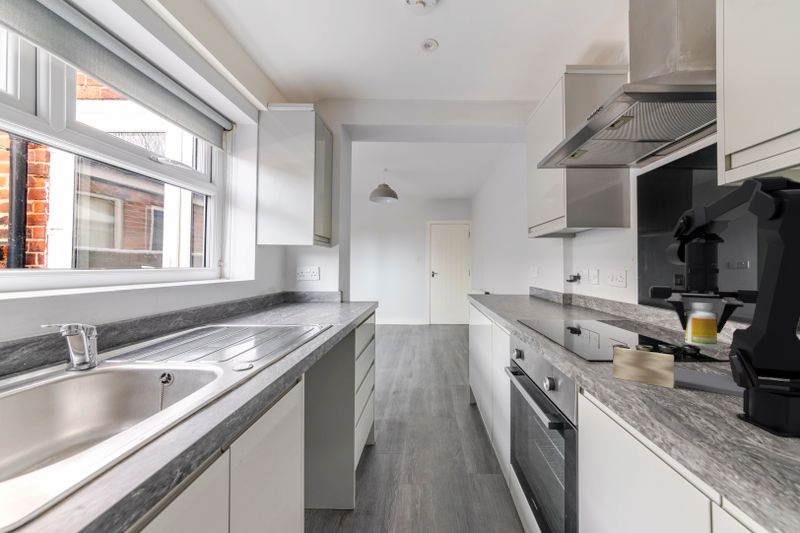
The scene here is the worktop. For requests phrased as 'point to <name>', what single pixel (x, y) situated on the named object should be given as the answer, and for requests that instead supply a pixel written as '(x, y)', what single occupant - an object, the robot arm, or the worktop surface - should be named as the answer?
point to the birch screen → (643, 366)
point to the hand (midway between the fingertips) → (700, 331)
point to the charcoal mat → (707, 382)
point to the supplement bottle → (701, 325)
